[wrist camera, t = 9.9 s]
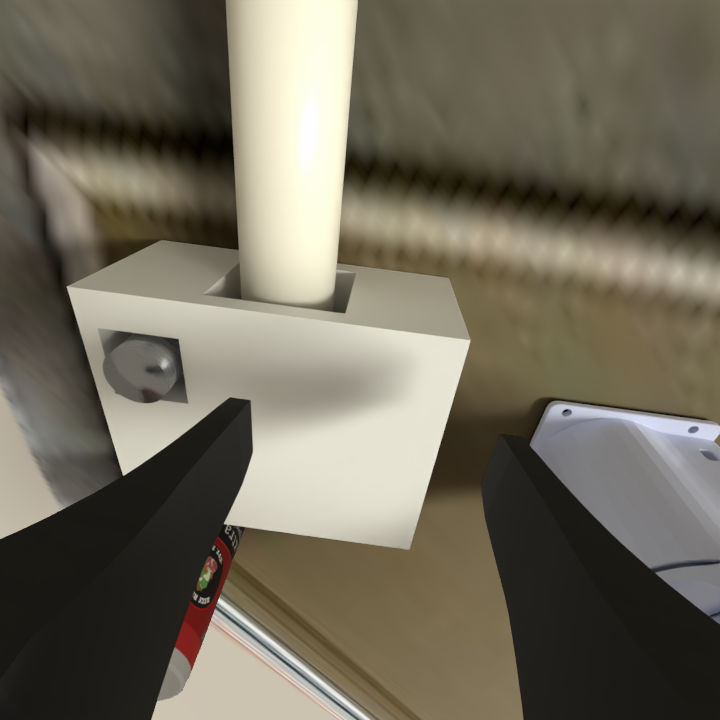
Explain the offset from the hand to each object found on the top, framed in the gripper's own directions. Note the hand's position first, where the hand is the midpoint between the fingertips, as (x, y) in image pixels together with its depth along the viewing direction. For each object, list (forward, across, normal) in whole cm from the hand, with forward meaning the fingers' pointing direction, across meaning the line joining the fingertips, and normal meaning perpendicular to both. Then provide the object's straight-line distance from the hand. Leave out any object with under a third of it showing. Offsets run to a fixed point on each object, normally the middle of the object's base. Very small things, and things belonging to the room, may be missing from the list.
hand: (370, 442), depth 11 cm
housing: (+10, +4, +4) cm, 11 cm away
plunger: (+7, +9, +1) cm, 11 cm away
